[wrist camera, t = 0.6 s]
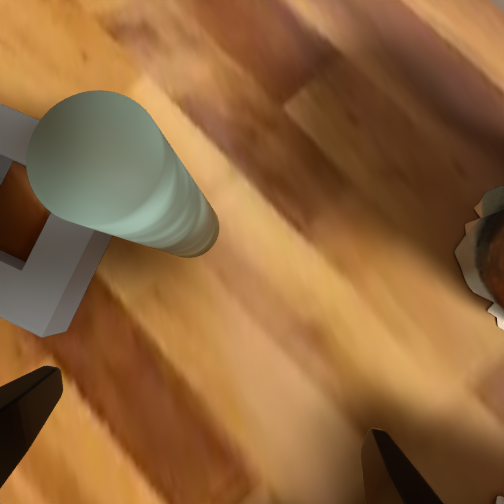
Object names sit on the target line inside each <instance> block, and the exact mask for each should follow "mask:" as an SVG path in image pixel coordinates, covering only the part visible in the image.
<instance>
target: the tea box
mask: <svg viewBox="0 0 504 504" xmlns="http://www.w3.org/2000/svg"><path fill="white" fill-rule="evenodd" d="M496 504H504V497H502V496H497V500H496Z"/></svg>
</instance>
